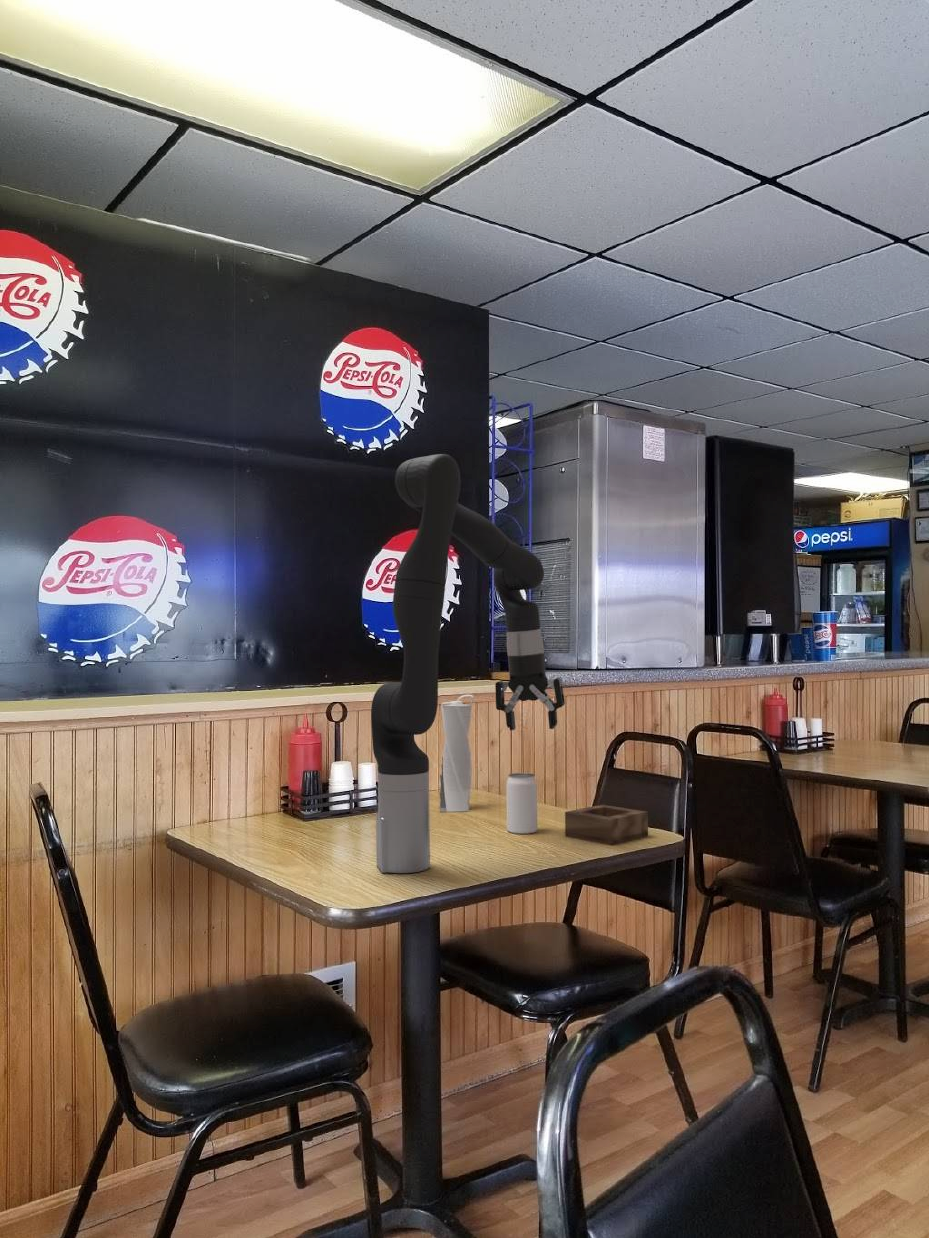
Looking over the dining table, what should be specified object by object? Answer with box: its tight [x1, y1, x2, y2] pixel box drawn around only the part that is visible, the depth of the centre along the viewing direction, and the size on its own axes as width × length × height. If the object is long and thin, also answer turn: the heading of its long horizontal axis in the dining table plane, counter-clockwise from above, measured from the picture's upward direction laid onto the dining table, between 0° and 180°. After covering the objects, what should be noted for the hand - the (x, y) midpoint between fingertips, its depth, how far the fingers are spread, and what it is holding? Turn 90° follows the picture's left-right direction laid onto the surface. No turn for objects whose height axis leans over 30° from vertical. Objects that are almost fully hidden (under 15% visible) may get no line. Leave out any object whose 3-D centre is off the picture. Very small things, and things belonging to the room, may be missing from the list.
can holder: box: [564, 804, 649, 846], centre depth 192 cm, size 12×12×5 cm
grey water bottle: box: [439, 694, 474, 814], centre depth 224 cm, size 8×8×28 cm
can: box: [506, 772, 538, 835], centre depth 198 cm, size 6×6×12 cm
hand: (532, 729), depth 194 cm, fingers open, 8 cm apart
